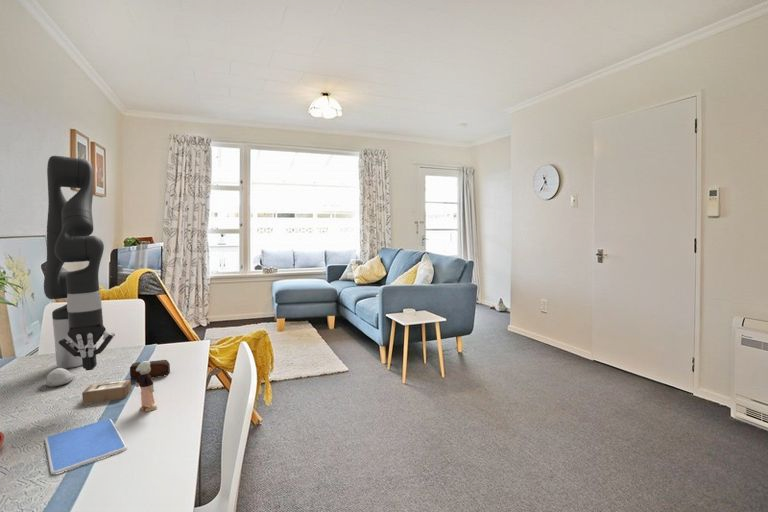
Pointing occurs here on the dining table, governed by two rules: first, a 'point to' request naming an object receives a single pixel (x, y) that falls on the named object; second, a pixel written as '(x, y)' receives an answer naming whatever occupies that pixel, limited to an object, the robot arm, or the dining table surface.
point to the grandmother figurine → (145, 386)
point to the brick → (156, 369)
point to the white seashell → (58, 377)
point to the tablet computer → (83, 445)
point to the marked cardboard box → (106, 391)
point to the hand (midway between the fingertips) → (90, 369)
